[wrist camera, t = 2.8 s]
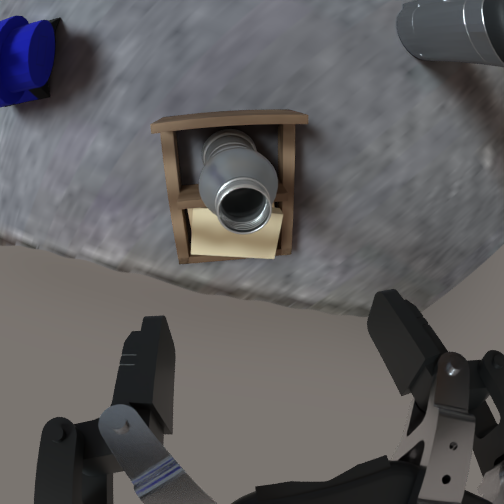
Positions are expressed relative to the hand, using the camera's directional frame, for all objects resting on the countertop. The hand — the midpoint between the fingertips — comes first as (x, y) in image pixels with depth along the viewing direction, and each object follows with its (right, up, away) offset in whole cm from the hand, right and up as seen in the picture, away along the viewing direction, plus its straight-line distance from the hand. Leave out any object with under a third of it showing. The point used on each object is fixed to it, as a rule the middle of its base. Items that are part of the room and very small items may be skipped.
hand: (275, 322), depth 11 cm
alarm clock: (-31, +29, +14) cm, 45 cm away
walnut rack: (-4, +12, +28) cm, 31 cm away
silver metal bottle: (-4, +16, +26) cm, 30 cm away
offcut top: (-3, +6, +28) cm, 28 cm away
